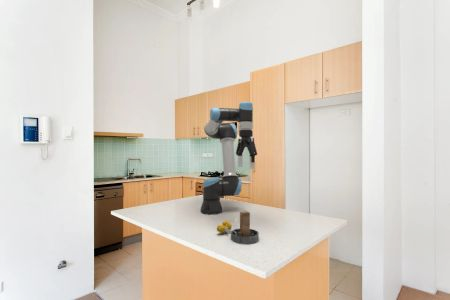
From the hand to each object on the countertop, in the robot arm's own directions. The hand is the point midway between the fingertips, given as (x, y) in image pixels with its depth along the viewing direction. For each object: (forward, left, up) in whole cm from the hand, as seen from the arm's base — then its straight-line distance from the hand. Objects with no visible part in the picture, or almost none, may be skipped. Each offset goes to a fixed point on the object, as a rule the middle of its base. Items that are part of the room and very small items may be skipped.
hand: (245, 167), depth 137 cm
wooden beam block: (+17, -10, -32) cm, 38 cm away
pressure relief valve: (+8, -14, -33) cm, 37 cm away
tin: (+17, -10, -33) cm, 38 cm away
